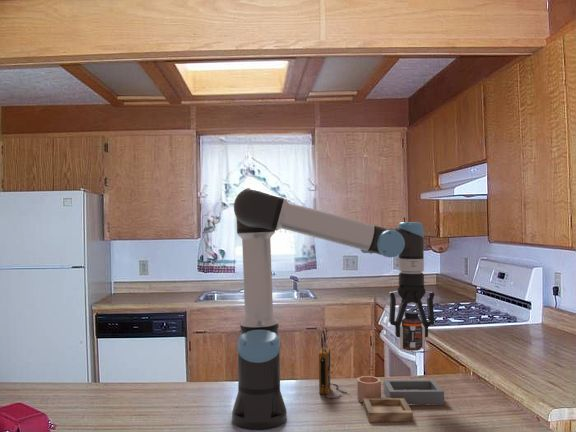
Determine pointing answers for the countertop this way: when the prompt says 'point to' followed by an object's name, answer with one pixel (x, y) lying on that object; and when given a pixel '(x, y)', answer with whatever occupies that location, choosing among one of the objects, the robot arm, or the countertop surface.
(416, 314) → the supplement bottle
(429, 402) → the tray
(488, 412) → the countertop surface
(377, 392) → the empty cup
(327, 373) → the multimeter
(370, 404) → the square wooden tray
